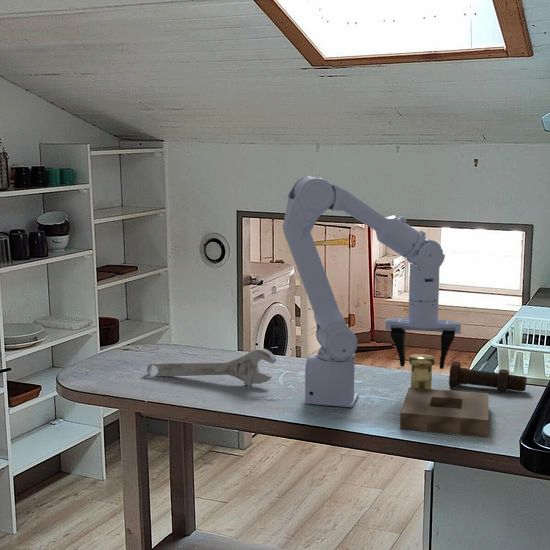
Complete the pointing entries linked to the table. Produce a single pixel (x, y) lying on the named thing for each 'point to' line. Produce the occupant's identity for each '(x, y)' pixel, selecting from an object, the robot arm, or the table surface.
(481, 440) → the table surface
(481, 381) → the bolt
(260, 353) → the wrench
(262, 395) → the table surface
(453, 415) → the socket plate
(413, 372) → the brass pin
